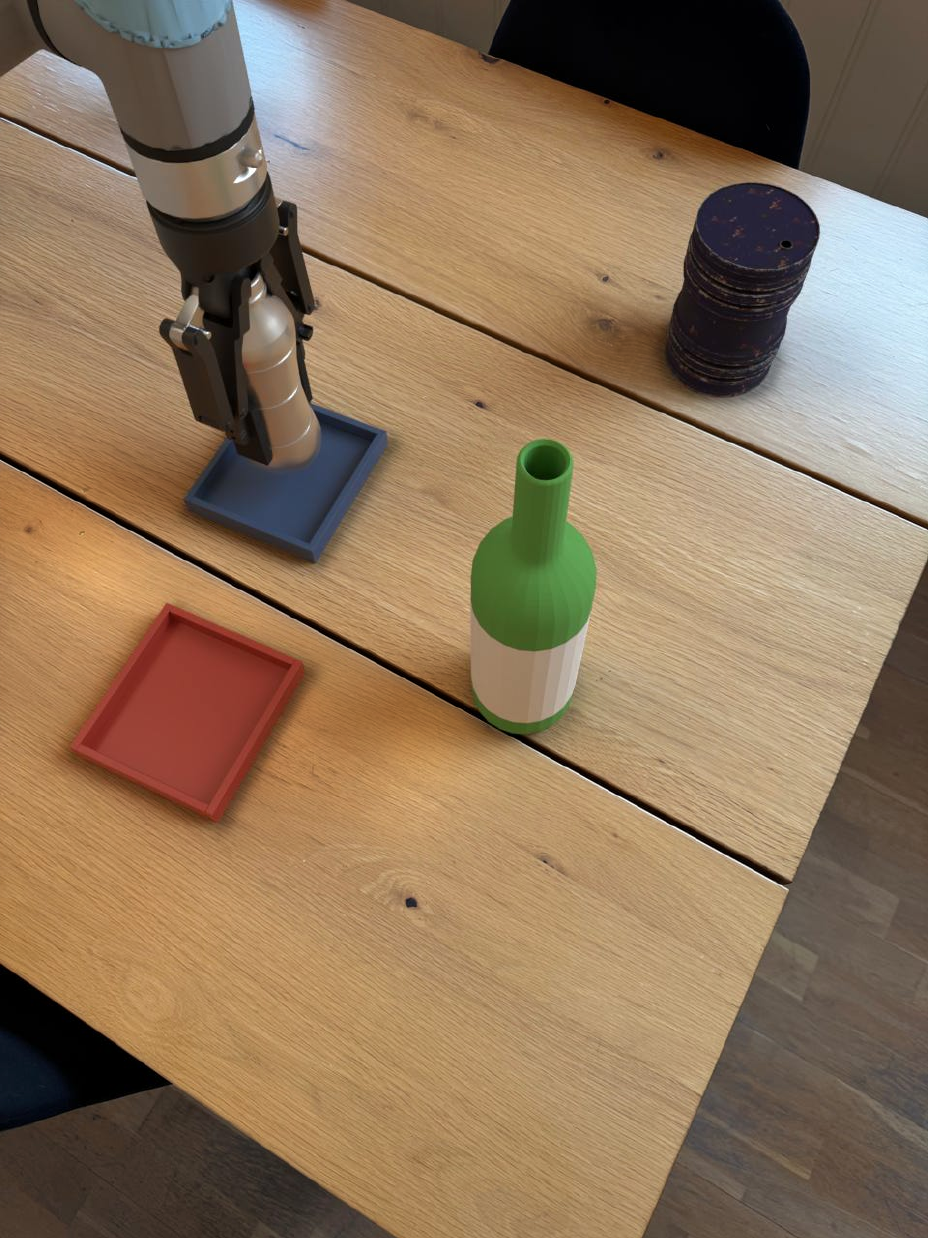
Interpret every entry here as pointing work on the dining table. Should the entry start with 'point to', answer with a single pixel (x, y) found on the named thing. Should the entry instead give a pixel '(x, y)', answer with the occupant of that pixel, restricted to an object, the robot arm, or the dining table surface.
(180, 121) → the robot arm
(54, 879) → the dining table surface
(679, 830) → the dining table surface
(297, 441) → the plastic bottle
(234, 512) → the blue tray
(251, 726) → the red tray
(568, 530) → the wine bottle
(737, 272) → the oil barrel
